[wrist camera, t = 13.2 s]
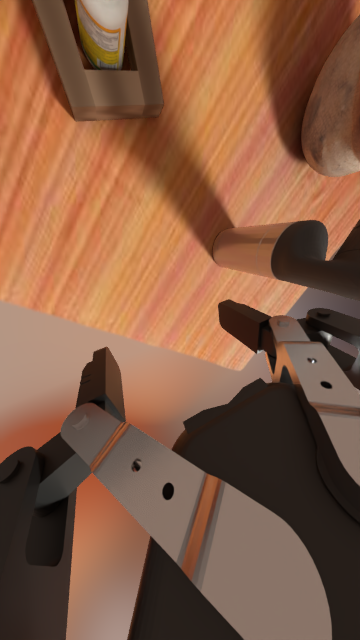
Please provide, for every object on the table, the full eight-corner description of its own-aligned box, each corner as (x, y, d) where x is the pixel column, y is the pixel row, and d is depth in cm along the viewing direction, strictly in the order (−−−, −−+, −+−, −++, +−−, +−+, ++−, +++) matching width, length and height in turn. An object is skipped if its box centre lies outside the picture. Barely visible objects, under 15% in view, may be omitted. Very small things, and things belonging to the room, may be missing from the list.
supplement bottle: (108, 91, 23) (108, 13, 15) (69, 36, 20) (45, -98, 12) (131, 59, 23) (144, -39, 15) (95, -3, 20) (87, -167, 12)
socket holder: (130, -40, 20) (134, -84, 17) (158, 117, 26) (164, 103, 24) (8, -64, 16) (-10, -122, 14) (75, 121, 23) (71, 106, 20)
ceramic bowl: (314, 200, 46) (392, 185, 33) (265, 163, 36) (349, 123, 24) (363, 92, 38) (488, 20, 25) (317, 8, 28) (482, -174, 16)
